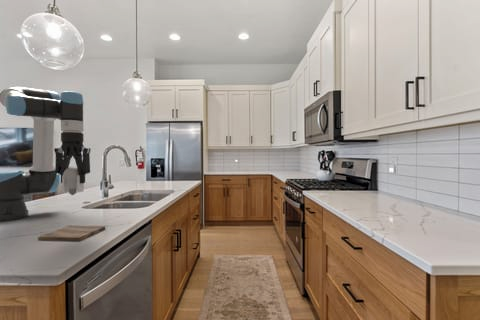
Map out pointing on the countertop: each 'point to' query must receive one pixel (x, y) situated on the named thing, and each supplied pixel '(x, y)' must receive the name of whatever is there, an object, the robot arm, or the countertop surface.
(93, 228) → the plate
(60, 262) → the countertop surface
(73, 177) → the lightbulb
